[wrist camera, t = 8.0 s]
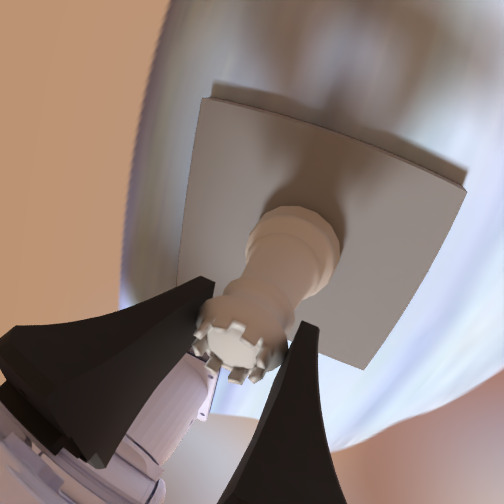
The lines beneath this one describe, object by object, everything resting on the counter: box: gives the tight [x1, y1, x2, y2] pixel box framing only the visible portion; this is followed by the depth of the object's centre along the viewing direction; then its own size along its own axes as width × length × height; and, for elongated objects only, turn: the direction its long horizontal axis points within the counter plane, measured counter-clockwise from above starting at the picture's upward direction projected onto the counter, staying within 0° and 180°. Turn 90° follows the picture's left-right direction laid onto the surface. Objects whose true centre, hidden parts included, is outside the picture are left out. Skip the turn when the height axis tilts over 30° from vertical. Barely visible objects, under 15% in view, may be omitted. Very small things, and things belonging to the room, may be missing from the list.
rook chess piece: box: [191, 206, 340, 385], centre depth 13 cm, size 4×4×8 cm
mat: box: [176, 97, 467, 370], centre depth 17 cm, size 12×13×1 cm
